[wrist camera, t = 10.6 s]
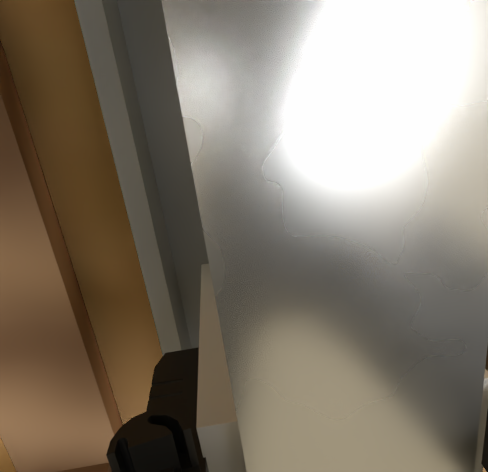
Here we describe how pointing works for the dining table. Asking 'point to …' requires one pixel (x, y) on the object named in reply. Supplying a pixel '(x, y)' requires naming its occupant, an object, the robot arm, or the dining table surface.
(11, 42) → the dining table surface
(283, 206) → the rail
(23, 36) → the dining table surface
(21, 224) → the rack
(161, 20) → the tray
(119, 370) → the dining table surface
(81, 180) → the dining table surface
